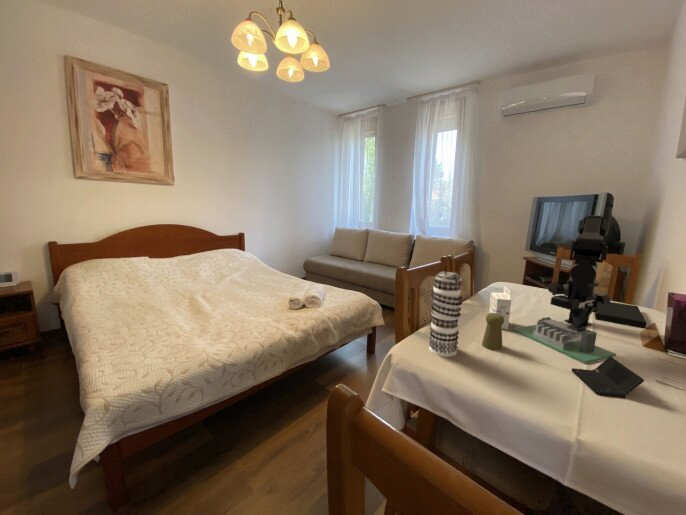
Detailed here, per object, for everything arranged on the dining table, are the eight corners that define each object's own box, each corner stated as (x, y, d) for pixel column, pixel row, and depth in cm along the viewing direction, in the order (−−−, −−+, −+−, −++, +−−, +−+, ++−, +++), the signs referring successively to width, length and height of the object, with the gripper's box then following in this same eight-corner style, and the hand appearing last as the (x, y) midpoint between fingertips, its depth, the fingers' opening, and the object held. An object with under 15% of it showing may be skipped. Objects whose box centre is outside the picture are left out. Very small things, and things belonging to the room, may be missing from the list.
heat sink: (552, 329, 105) (554, 313, 104) (602, 349, 91) (605, 331, 90) (527, 333, 102) (529, 317, 100) (575, 355, 87) (578, 336, 86)
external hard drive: (595, 320, 117) (596, 313, 117) (593, 305, 135) (594, 299, 134) (645, 329, 108) (646, 322, 108) (636, 312, 126) (637, 306, 125)
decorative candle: (421, 346, 94) (425, 271, 90) (443, 341, 98) (448, 269, 93) (441, 359, 86) (447, 278, 81) (464, 353, 89) (471, 275, 85)
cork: (500, 343, 96) (504, 312, 94) (504, 352, 90) (507, 318, 88) (480, 340, 98) (483, 309, 96) (483, 348, 92) (486, 316, 90)
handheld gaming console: (564, 365, 80) (595, 341, 77) (581, 379, 81) (611, 356, 79) (597, 397, 69) (635, 371, 66) (616, 412, 70) (653, 387, 68)
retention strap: (547, 319, 103) (547, 315, 103) (586, 331, 91) (587, 326, 91) (538, 321, 102) (538, 316, 101) (577, 333, 90) (577, 328, 90)
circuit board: (540, 325, 110) (541, 323, 110) (616, 356, 88) (616, 353, 88) (513, 330, 106) (513, 328, 106) (584, 364, 84) (585, 361, 84)
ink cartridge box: (487, 319, 116) (491, 284, 113) (500, 320, 115) (504, 285, 112) (494, 328, 108) (497, 290, 105) (508, 329, 107) (512, 291, 104)
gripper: (575, 271, 100) (570, 314, 102) (536, 274, 94) (531, 320, 96) (614, 278, 89) (607, 326, 92) (573, 282, 83) (566, 333, 86)
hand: (577, 326), depth 92 cm, fingers closed, pressing on retention strap
